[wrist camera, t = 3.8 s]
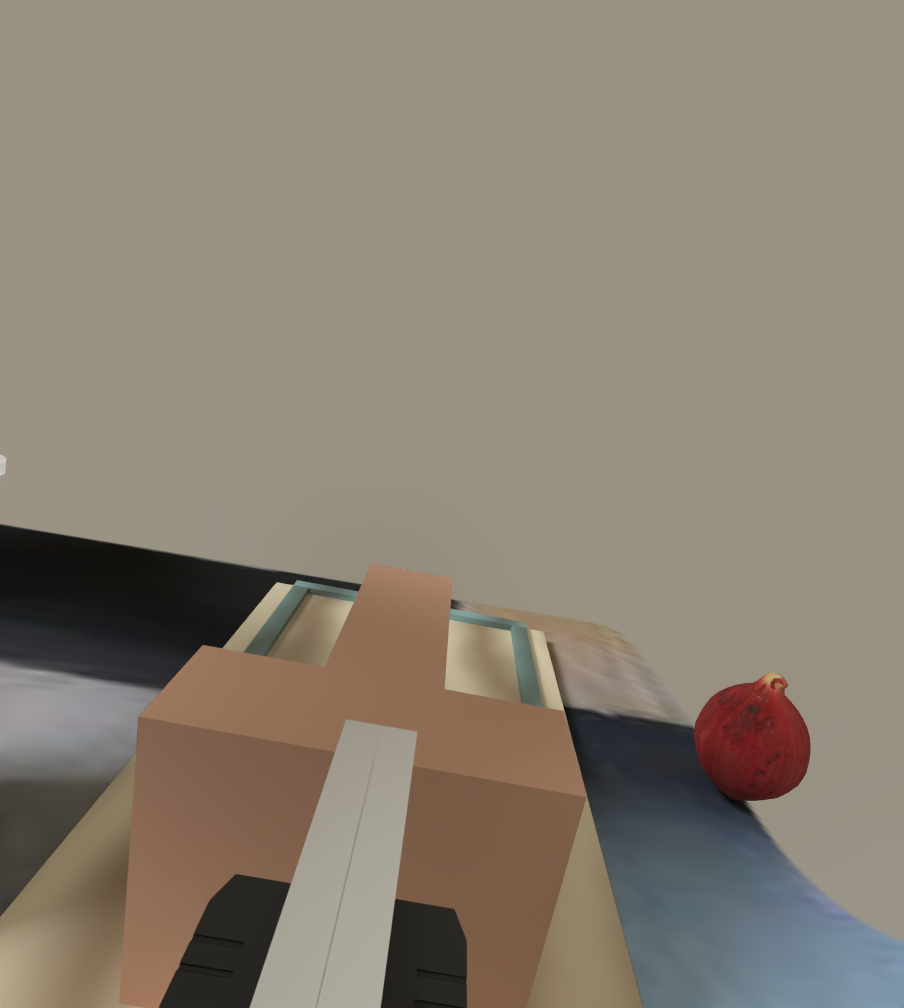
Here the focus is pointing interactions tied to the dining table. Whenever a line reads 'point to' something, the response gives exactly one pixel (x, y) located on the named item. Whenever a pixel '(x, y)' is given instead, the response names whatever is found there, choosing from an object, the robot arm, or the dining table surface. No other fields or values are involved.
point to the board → (310, 639)
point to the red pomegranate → (753, 740)
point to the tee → (303, 771)
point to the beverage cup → (2, 465)
